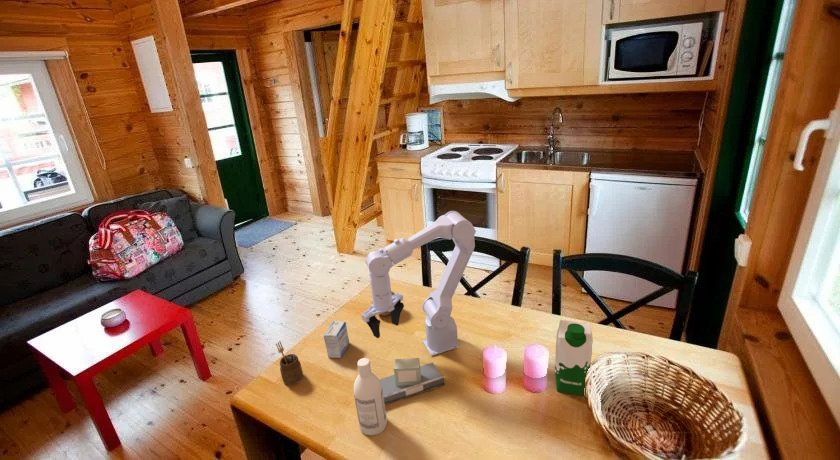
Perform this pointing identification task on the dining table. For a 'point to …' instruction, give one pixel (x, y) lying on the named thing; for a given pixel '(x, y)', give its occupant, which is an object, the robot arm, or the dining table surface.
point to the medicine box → (336, 339)
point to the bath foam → (369, 400)
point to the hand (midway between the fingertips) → (386, 330)
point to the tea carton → (407, 371)
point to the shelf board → (428, 381)
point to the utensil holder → (290, 367)
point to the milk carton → (572, 356)
